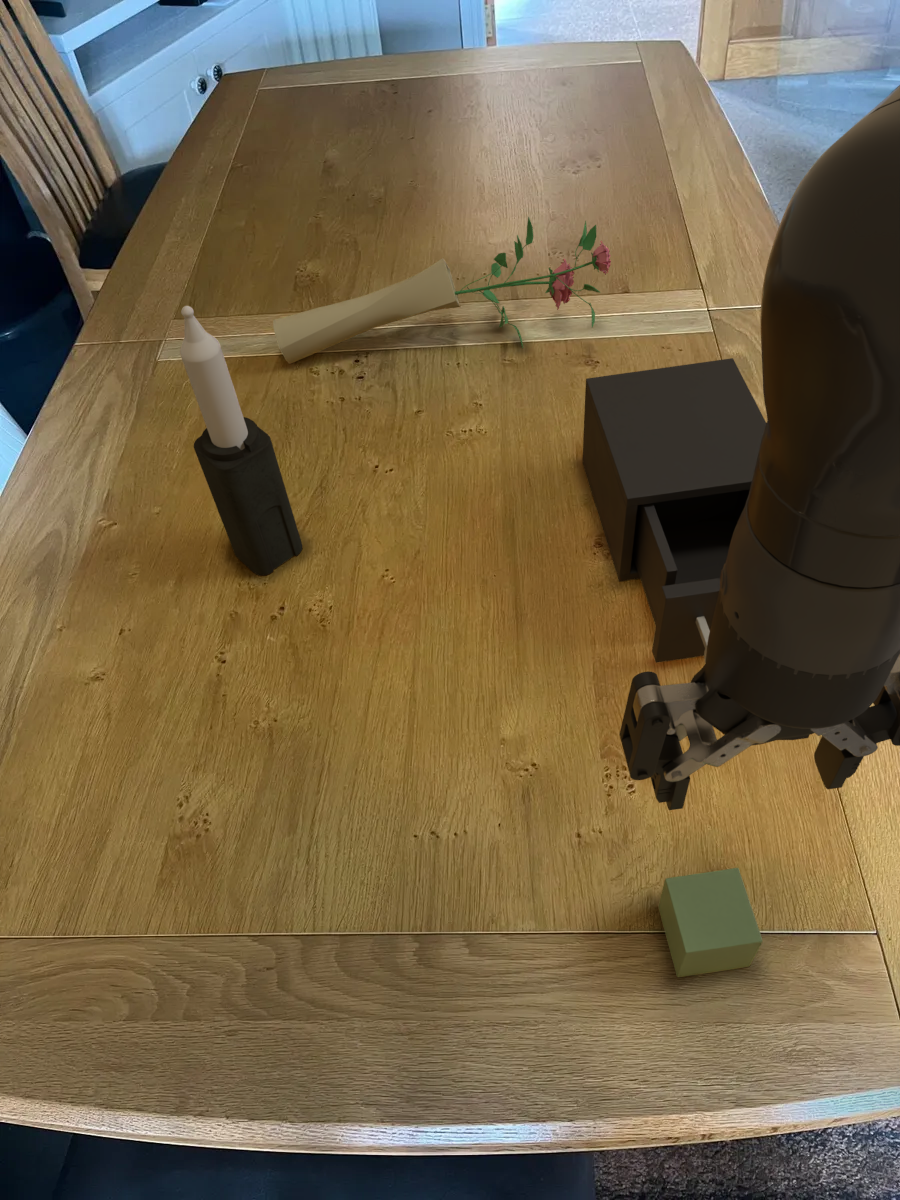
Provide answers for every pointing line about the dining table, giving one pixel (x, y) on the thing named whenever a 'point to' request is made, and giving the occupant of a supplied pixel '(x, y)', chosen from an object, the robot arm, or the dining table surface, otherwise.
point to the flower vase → (419, 301)
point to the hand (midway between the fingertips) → (748, 783)
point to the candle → (237, 460)
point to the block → (709, 922)
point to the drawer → (684, 567)
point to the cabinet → (666, 443)
